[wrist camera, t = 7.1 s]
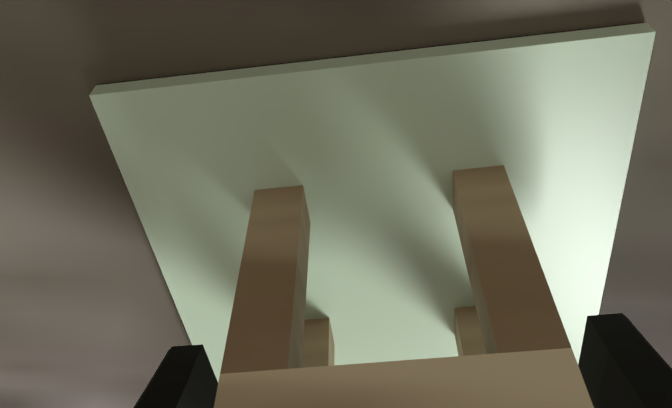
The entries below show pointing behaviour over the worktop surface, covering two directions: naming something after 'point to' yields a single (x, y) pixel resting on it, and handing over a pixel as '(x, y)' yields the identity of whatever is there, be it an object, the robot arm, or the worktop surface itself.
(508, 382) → the stool
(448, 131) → the mat
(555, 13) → the worktop surface
